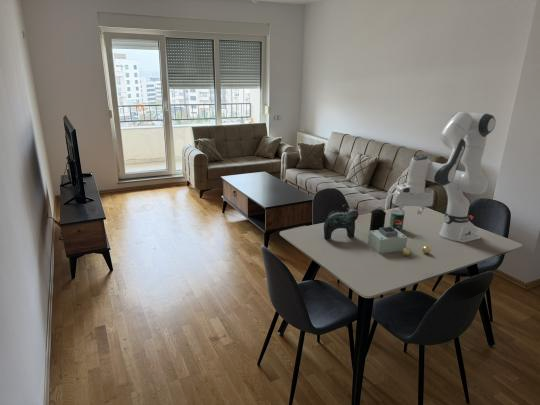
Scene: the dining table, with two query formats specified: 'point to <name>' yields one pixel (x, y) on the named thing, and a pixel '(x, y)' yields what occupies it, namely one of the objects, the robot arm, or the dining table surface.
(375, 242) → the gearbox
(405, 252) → the bead
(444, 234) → the robot arm
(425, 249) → the bead
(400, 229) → the canned tomato
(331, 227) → the dark green animal figurine
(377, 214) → the aerosol can
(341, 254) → the dining table surface
